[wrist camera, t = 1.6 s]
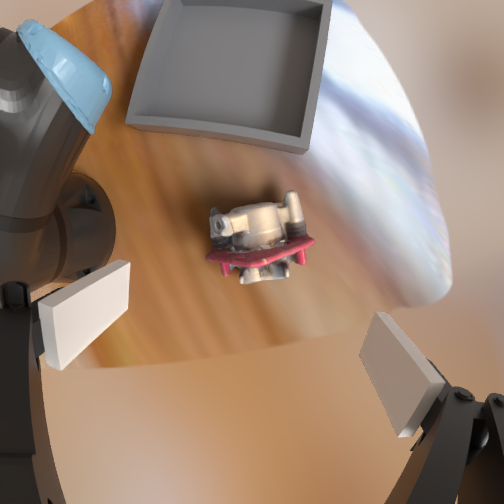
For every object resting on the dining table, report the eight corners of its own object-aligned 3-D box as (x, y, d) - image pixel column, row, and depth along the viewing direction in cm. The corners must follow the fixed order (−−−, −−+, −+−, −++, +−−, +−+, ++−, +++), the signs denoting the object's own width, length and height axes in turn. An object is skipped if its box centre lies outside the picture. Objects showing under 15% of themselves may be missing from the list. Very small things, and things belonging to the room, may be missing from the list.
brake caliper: (222, 308, 34) (187, 271, 24) (216, 228, 39) (188, 170, 29) (318, 293, 33) (327, 248, 23) (301, 214, 38) (300, 149, 28)
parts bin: (142, 130, 33) (124, 123, 28) (180, 4, 29) (170, -14, 24) (302, 155, 33) (308, 149, 28) (325, 20, 28) (332, 0, 23)
